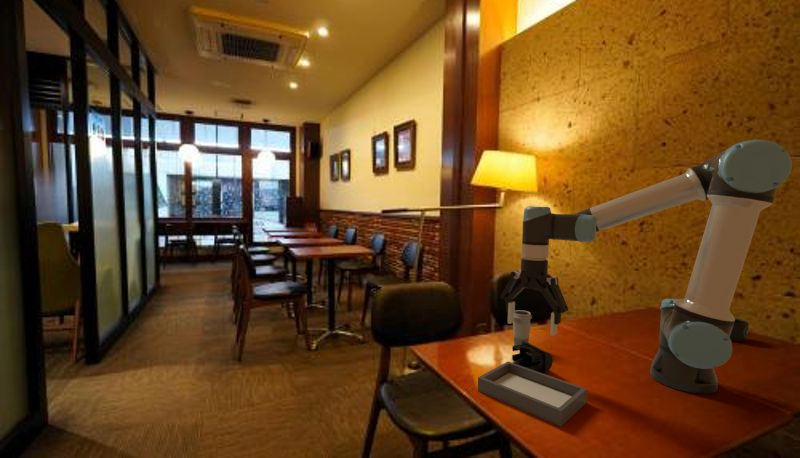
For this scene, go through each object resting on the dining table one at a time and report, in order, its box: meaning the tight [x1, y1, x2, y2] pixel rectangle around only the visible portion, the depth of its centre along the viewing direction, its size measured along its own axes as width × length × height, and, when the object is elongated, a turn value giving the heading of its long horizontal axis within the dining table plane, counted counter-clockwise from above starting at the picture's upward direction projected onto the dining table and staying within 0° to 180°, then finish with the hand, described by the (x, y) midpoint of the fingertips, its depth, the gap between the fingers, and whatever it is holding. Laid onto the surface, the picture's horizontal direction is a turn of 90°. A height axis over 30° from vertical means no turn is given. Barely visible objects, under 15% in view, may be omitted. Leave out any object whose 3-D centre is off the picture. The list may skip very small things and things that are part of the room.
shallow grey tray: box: [477, 361, 588, 428], centre depth 95 cm, size 22×15×4 cm
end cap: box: [511, 341, 554, 374], centre depth 112 cm, size 10×7×7 cm
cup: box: [512, 309, 533, 346], centre depth 130 cm, size 7×7×12 cm
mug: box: [730, 317, 750, 342], centre depth 140 cm, size 12×9×7 cm
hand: (531, 328), depth 112 cm, fingers open, 13 cm apart
